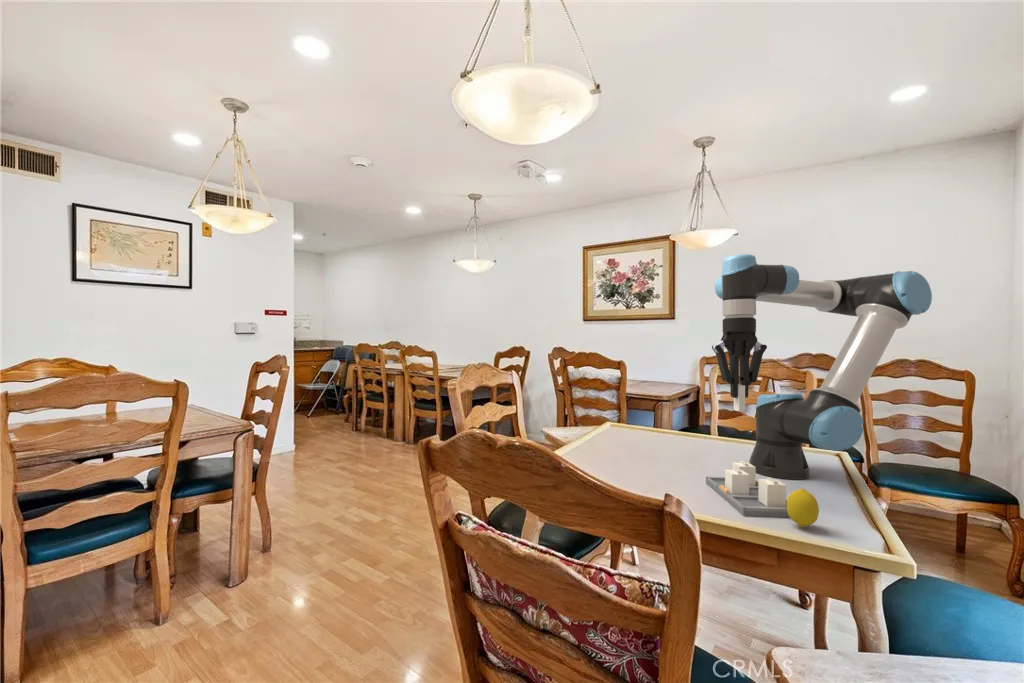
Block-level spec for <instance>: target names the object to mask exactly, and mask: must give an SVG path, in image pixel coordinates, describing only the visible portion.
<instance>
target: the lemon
mask: <svg viewBox="0 0 1024 683" xmlns="http://www.w3.org/2000/svg"><path fill="white" fill-rule="evenodd" d="M786 500H787V512H788V515H789V517H790V519H791V520H792V521H793V522H794V523H795V524H797V525H798V526H799V528H805V527H808V526H811V525H813V524H815V523H816V522H817V520H818V519H819V513H820V512H819V511H820V509H819V503H818V501H817V498H816V497H815V496H814V495H813V494H812V493H811V492H809V491H807V490H806V489H805V488H800V489H795V490H793V491H792V492H791V493H790V494H789V495H788V497H787V498H786Z"/></svg>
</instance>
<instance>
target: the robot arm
mask: <svg viewBox="0 0 1024 683" xmlns="http://www.w3.org/2000/svg"><path fill="white" fill-rule="evenodd" d="M714 291H715V294H716V296H717V297H718V298H720V299H722V316H723V317H724V318H723V319H722V337H721V339H720V342H718V343H717V344H713V345H712V346H711V349H712V351H713V352H714V353H715V355H716V360H717V363H718V368H719V371H720V377H721V379H722V382H723V383H727V384H729V385H730V397H731V398H733V411H736V412H740V413H741V412H744V413H745V412H746V398H749V386H751V384H753V383H756V382H757V380H758V376H759V371H760V367H761V363H762V360H763V357H764V356H763V355H764V353H765V352H766V350H767V348H768V346H767V344H763V343H761V342H759V341H758V337H757V335H756V332H757V319H756V317H754V316H756V315H757V302H762V303H763V302H764V303H773V304H774V303H775V304H780V305H781V304H782V305H791V306H798V307H799V306H801V307H808V308H815V310H817V311H819V312H823V313H829V314H830V313H831V314H836V315H844V316H850V317H858V319H857V320H856V321H855V324H854V325H853V328H852V329H851V331H850V333H849V335H848V336H847V339H846V340H845V342H844V343H843V345H842V347H841V349H840V350H839V352H838V354H837V355H836V358H835V360H834V362H833V363H832V366H831V367H830V369H829V370H828V373H827V374H826V376H825V377H824V379H823V382H822V383H821V385H820V387H817V388H813V389H811V390H810V391H809V393H808V395H807V397H806V398H805V399H804V396H803V395H802V393H776V394H775V393H772V394H771V393H769V394H767V393H766V394H760V395H758V396H757V398H756V406H755V414H756V415H755V430H756V431H755V433H756V434H755V445H754V448H753V451H752V452H751V456H750V458H749V462H748V463H750V464H751V465H753V466H755V467H756V472H757V474H760V475H762V474H763V476H767V477H771V478H777V479H785V480H804V479H808V478H810V467H809V464H808V461H807V459H806V455H805V452H804V450H803V444H805V445H809V446H813V447H817V448H818V449H822V450H830V451H834V452H841V451H845V450H849V449H851V448H852V447H853V446H854V445H857V443H858V442H859V440H860V439H861V437H862V436H863V433H864V426H862V425H864V418H863V416H862V414H861V410H862V409H861V407H860V404H859V403H858V401H859V399H860V397H861V396H862V394H863V392H864V390H865V388H866V387H867V385H868V383H869V381H870V379H871V376H872V375H873V373H874V371H875V370H876V367H877V366H878V364H879V362H880V361H881V359H882V357H883V354H884V352H885V351H886V349H887V347H888V346H889V343H890V341H891V340H892V337H894V335H895V332H896V330H898V329H902V328H905V327H906V326H907V325H908V323H909V321H910V319H911V318H912V316H913V315H915V316H916V315H917V316H918V315H921V314H923V313H924V314H925V313H926V312H927V311H928V310H929V308H930V307H931V304H932V301H933V293H932V289H931V287H930V283H929V282H928V281H927V279H926V277H925V276H923V274H921V273H919V272H917V271H912V270H907V271H895V272H893V273H886V274H877V275H869V276H859V277H855V278H854V277H853V278H848V279H840V280H835V279H834V280H832V279H825V280H822V281H812V280H805V279H800V273H799V272H798V270H797V268H796V267H794V266H792V265H784V264H758V262H757V259H756V256H755V255H753V254H747V253H745V254H744V253H743V254H733V255H730V256H726V257H725V258H724V259H723V261H722V270H721V276H719V277H718V278H717V279H716V281H715V282H714ZM752 349H753V352H752V354H751V351H752ZM725 350H726V351H727V352H728V353H727V354H728V358H729V360H727V356H726V353H725ZM751 355H752V356H751ZM750 357H751V359H750ZM728 362H729V364H728Z"/></svg>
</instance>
